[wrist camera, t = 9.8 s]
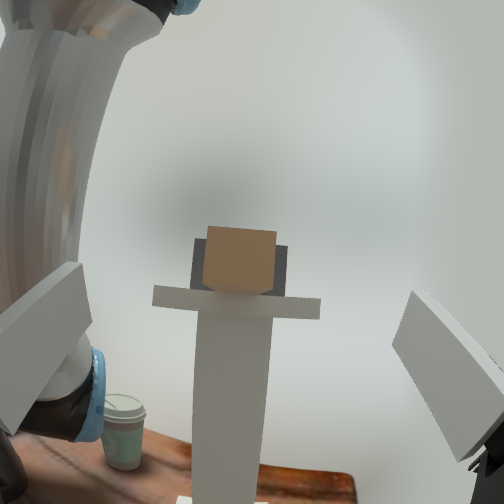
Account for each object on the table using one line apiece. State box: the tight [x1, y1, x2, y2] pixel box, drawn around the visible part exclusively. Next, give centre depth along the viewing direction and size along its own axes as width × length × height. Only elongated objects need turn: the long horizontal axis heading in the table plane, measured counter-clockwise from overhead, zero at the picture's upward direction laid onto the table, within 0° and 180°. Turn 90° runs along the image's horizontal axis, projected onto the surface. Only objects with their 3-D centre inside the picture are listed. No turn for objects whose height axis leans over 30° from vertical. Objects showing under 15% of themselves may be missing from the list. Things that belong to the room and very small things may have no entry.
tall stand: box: [152, 285, 321, 504], centre depth 23 cm, size 12×12×30 cm
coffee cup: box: [101, 393, 146, 470], centre depth 35 cm, size 8×8×12 cm
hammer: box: [190, 226, 288, 297], centre depth 22 cm, size 19×8×4 cm, turn 3°
